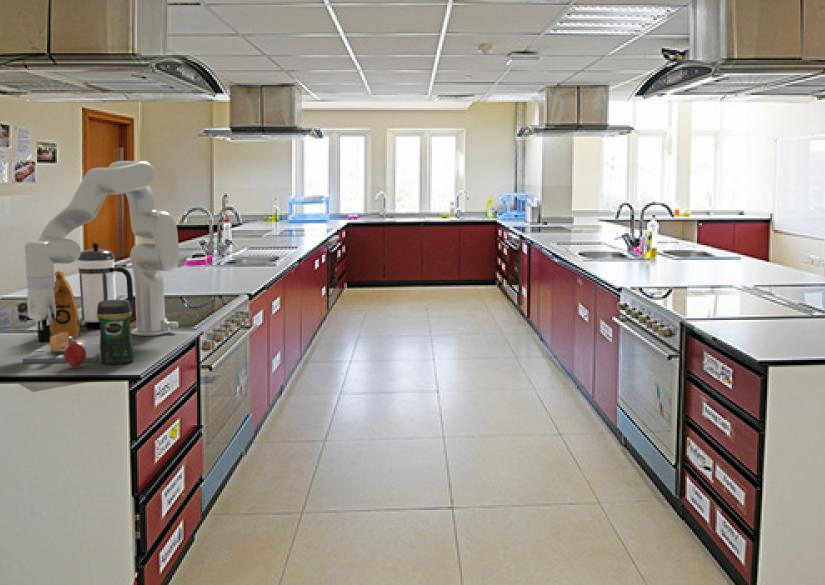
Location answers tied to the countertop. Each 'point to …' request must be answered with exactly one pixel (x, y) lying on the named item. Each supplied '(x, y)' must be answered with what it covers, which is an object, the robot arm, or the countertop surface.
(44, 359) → the board
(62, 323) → the coffee package
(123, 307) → the coffee jar
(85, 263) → the coffee press
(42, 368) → the countertop surface
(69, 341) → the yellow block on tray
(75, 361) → the pomegranate
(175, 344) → the countertop surface
